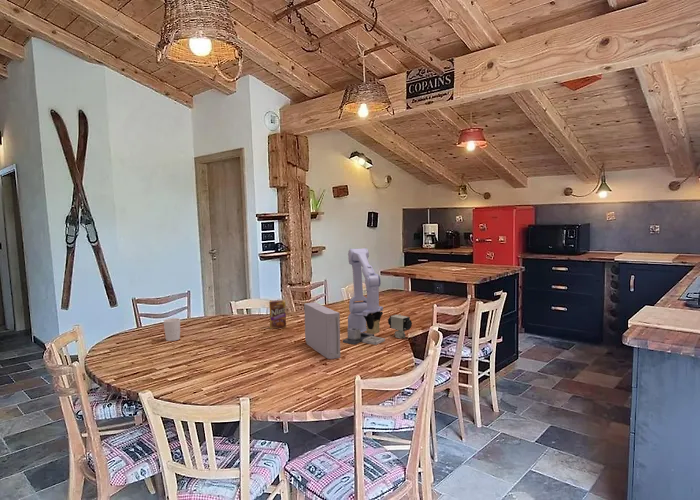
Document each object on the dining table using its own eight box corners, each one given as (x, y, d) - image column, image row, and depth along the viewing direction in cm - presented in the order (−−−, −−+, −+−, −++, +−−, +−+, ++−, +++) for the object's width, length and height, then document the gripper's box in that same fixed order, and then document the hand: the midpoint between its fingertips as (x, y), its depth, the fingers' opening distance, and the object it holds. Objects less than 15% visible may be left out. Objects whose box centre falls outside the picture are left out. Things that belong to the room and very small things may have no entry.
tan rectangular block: (366, 332, 220) (366, 320, 220) (371, 330, 224) (371, 318, 223) (374, 333, 218) (374, 321, 217) (379, 331, 221) (379, 319, 221)
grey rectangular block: (347, 341, 221) (347, 329, 221) (353, 339, 225) (353, 327, 225) (355, 343, 219) (354, 330, 218) (360, 340, 222) (360, 328, 222)
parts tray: (362, 342, 220) (361, 339, 220) (371, 339, 227) (371, 335, 227) (375, 345, 216) (375, 342, 215) (384, 341, 222) (384, 338, 222)
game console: (328, 360, 196) (327, 314, 195) (304, 344, 220) (303, 303, 219) (340, 357, 199) (339, 312, 197) (315, 342, 223) (314, 302, 221)
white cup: (184, 338, 235) (183, 319, 234) (172, 342, 228) (171, 322, 227) (173, 336, 238) (172, 317, 237) (161, 340, 231) (160, 321, 230)
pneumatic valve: (406, 341, 222) (406, 316, 221) (387, 336, 230) (387, 313, 229) (413, 338, 226) (413, 314, 225) (394, 334, 234) (394, 311, 233)
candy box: (269, 329, 249) (268, 301, 248) (270, 327, 254) (269, 300, 252) (286, 328, 251) (285, 301, 249) (286, 326, 255) (285, 299, 254)
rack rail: (342, 343, 220) (342, 339, 220) (363, 335, 234) (363, 332, 234) (354, 345, 216) (354, 342, 216) (374, 337, 230) (374, 334, 230)
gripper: (371, 303, 211) (371, 332, 212) (388, 298, 223) (388, 325, 224) (359, 301, 215) (359, 330, 217) (376, 296, 227) (376, 323, 228)
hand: (373, 327), depth 220 cm, fingers closed on tan rectangular block, 4 cm apart
